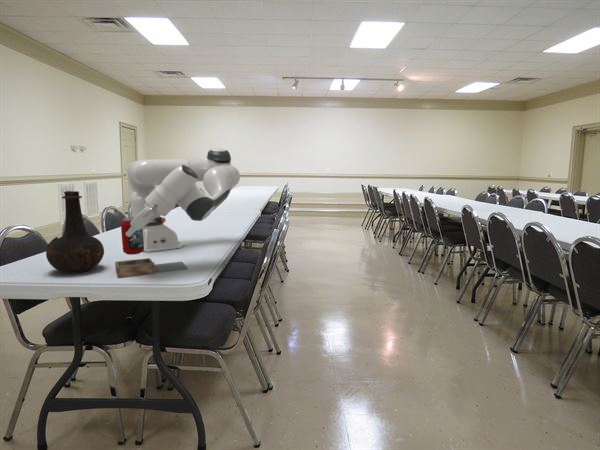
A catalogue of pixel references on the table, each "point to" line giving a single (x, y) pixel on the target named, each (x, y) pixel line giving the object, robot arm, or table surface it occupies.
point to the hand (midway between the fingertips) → (130, 233)
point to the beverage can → (131, 238)
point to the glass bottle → (74, 241)
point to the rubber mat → (170, 266)
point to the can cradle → (134, 267)
